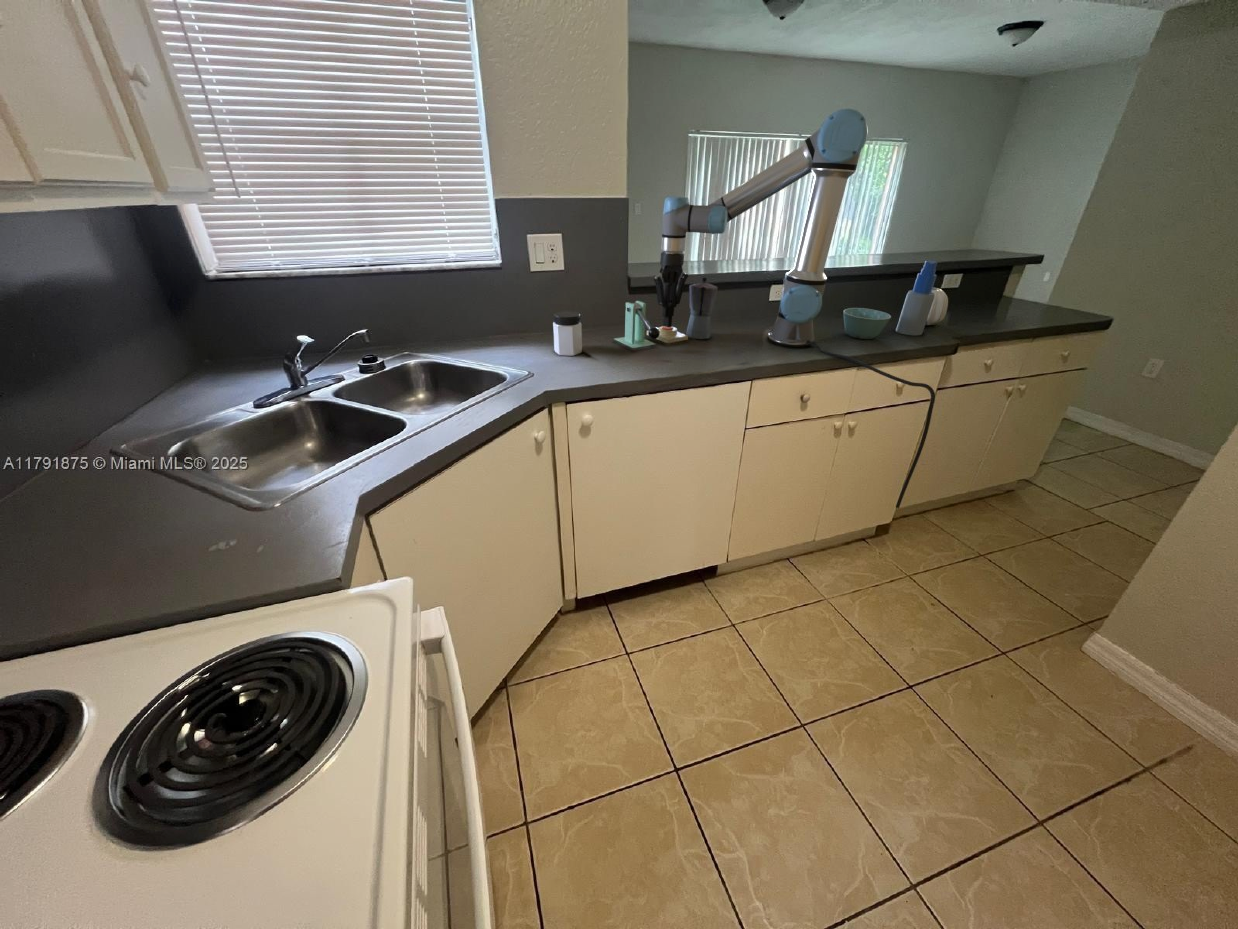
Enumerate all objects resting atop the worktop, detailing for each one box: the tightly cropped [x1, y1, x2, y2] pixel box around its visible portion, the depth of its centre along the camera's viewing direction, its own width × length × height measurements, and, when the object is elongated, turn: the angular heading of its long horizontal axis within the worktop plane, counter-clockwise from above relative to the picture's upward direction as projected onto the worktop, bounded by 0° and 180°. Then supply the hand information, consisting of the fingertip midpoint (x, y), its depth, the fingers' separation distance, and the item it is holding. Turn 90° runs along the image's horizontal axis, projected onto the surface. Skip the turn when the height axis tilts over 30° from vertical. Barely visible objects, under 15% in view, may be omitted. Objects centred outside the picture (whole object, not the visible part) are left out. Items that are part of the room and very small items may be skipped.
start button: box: [661, 325, 674, 330], centre depth 167 cm, size 4×4×2 cm
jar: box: [552, 310, 583, 357], centre depth 153 cm, size 9×8×12 cm
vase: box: [925, 287, 949, 326], centre depth 192 cm, size 14×14×13 cm
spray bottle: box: [895, 260, 938, 336], centre depth 177 cm, size 9×9×25 cm
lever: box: [631, 302, 660, 340], centre depth 155 cm, size 15×4×4 cm
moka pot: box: [685, 277, 718, 340], centre depth 168 cm, size 10×15×20 cm, turn 174°
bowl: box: [843, 307, 892, 340], centre depth 176 cm, size 16×16×8 cm
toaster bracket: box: [614, 300, 656, 349], centre depth 160 cm, size 12×9×14 cm
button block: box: [646, 325, 689, 344], centre depth 168 cm, size 12×9×4 cm
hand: (667, 326), depth 167 cm, fingers closed
